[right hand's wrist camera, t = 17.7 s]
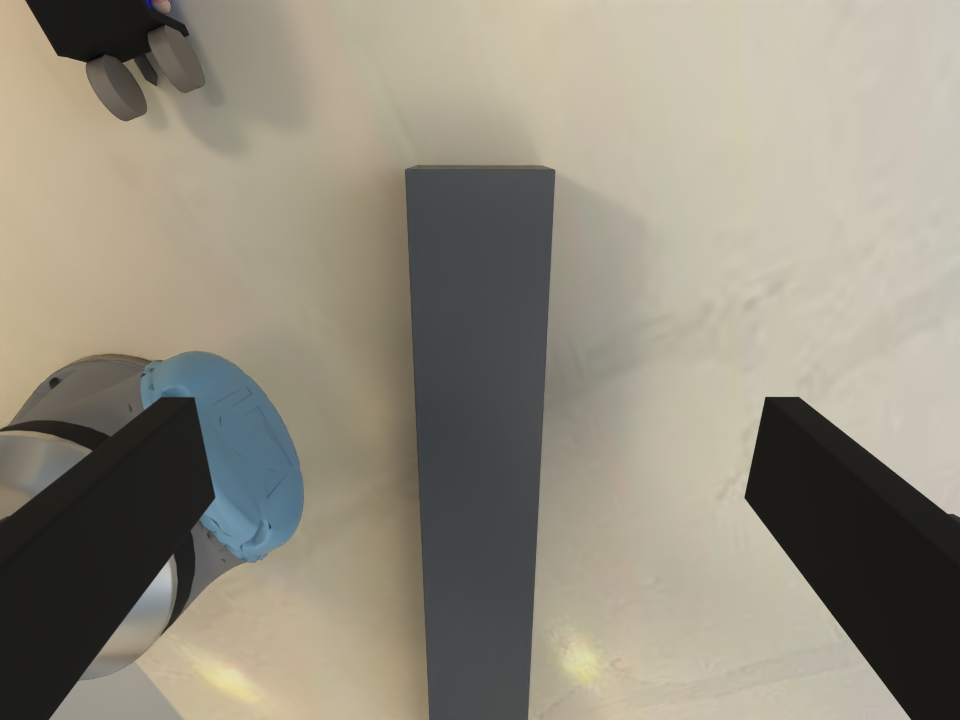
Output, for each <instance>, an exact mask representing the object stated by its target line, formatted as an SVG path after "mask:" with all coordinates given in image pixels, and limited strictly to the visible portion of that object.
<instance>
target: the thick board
mask: <svg viewBox="0 0 960 720" xmlns="http://www.w3.org/2000/svg"><path fill="white" fill-rule="evenodd" d="M405 179H406V202H407V224H408V247H409V269H410V292H411V314H412V337H413V359H414V382H415V404H416V427H417V449H418V472H419V494H420V517H421V539H422V562H423V584H424V606H425V629H426V651H427V674H428V696H429V719H430V720H528V705H529V685H530V665H531V645H532V625H533V605H534V585H535V565H536V545H537V525H538V505H539V485H540V465H541V445H542V425H543V405H544V385H545V365H546V345H547V325H548V305H549V285H550V265H551V245H552V225H553V205H554V185H555V170H554V169H551V168H548V167H545V166H444V165H418V166H414V167H411V168H408V169H405Z"/></svg>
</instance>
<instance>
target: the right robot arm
mask: <svg viewBox="0 0 960 720" xmlns="http://www.w3.org/2000/svg"><path fill="white" fill-rule="evenodd" d="M215 498H216V497H215V493H214V488H213V483H212V478H211V474H210V469H209V464H208V459H207V454H206V450H205V445H204V440H203V435H202V431H201V426H200V421H199V416H198V412H197V407H196V402H195V397H161V398H159V399H158V400H157V401H155V402H154V403H153V404H152V405H150V406H149V407H148V408H147V409H145V410H144V411H143V412H142V413H140V414H139V415H138V416H136V417H135V418H134V419H133V420H131V421H130V422H129V423H128V424H126V425H125V426H124V427H122V428H121V429H120V430H119V431H117V432H116V433H115V434H114V435H112V436H111V437H110V438H108V439H107V440H106V441H105V442H103V443H102V444H101V445H100V446H98V447H97V448H96V449H94V450H93V451H92V452H91V453H89V454H88V455H87V456H86V457H84V458H83V459H82V460H81V461H79V462H78V463H77V464H75V465H74V466H73V467H72V468H70V469H69V470H68V471H67V472H65V473H64V474H63V475H61V476H60V477H59V478H58V479H56V480H55V481H54V482H53V483H51V484H50V485H49V486H47V487H46V488H45V489H44V490H42V491H41V492H40V493H39V494H37V495H36V496H35V497H33V498H32V499H31V500H30V501H28V502H27V503H26V504H25V505H23V506H22V507H21V508H20V509H18V510H17V511H16V512H14V513H13V514H12V515H11V516H7V517H5V518H3V519H1V520H0V720H49V719H50V717H51V716H52V715H53V713H54V712H55V711H56V709H57V708H58V707H59V705H60V704H61V703H62V701H63V700H64V699H65V697H66V696H67V695H68V693H69V692H70V691H71V689H72V688H73V687H74V685H75V684H76V683H77V681H78V680H79V679H80V677H81V676H82V675H83V673H84V672H85V671H86V669H87V668H88V667H89V665H90V664H91V663H92V661H93V660H94V659H95V657H96V656H97V655H98V653H99V652H100V651H101V649H102V648H103V647H104V645H105V644H106V643H107V641H108V640H109V639H110V638H111V636H112V635H113V634H114V632H115V631H116V630H117V628H118V627H119V626H120V624H121V623H122V622H123V620H124V619H125V618H126V616H127V615H128V614H129V612H130V611H131V610H132V608H133V607H134V606H135V604H136V603H137V602H138V600H139V599H140V598H141V596H142V595H143V594H144V592H145V591H146V590H147V588H148V587H149V586H150V584H151V583H152V582H153V580H154V579H155V578H156V576H157V575H158V574H159V572H160V571H161V570H162V568H163V567H164V566H165V564H166V563H167V562H168V560H169V559H170V558H171V556H172V555H173V554H174V552H175V551H176V550H177V548H178V547H179V546H180V544H181V543H182V542H183V540H184V539H185V538H186V536H187V535H188V534H189V532H190V531H191V530H192V528H193V527H194V526H195V524H196V523H197V522H198V520H199V519H200V518H201V516H202V515H203V514H204V512H205V511H206V510H207V509H208V507H209V506H210V505H211V503H212V502H213V501H214V499H215ZM744 498H745V499H746V501H747V502H748V503H749V505H750V506H751V507H752V509H753V510H754V511H755V512H756V514H757V515H758V516H759V518H760V519H761V520H762V522H763V523H764V524H765V526H766V527H767V528H768V530H769V531H770V532H771V534H772V535H773V536H774V538H775V539H776V540H777V542H778V543H779V544H780V546H781V547H782V548H783V550H784V551H785V552H786V554H787V555H788V556H789V558H790V559H791V560H792V562H793V563H794V564H795V566H796V567H797V568H798V570H799V571H800V572H801V574H802V575H803V576H804V578H805V579H806V580H807V582H808V583H809V584H810V586H811V587H812V588H813V590H814V591H815V592H816V594H817V595H818V596H819V598H820V599H821V600H822V602H823V603H824V604H825V606H826V607H827V608H828V610H829V611H830V612H831V614H832V615H833V616H834V618H835V619H836V620H837V622H838V623H839V624H840V626H841V627H842V628H843V630H844V631H845V632H846V634H847V635H848V636H849V638H850V639H851V640H852V641H853V643H854V644H855V645H856V647H857V648H858V649H859V651H860V652H861V653H862V655H863V656H864V657H865V659H866V660H867V661H868V663H869V664H870V665H871V667H872V668H873V669H874V671H875V672H876V673H877V675H878V676H879V677H880V679H881V680H882V681H883V683H884V684H885V685H886V687H887V688H888V689H889V691H890V692H891V693H892V695H893V696H894V697H895V699H896V700H897V701H898V703H899V704H900V705H901V707H902V708H903V709H904V711H905V712H906V713H907V715H908V716H909V717H910V719H911V720H960V517H958V516H956V515H954V514H947V513H946V512H944V511H943V510H942V509H940V508H939V507H938V506H937V505H935V504H934V503H933V502H932V501H930V500H929V499H928V498H927V497H925V496H924V495H923V494H921V493H920V492H919V491H918V490H916V489H915V488H914V487H913V486H911V485H910V484H909V483H907V482H906V481H905V480H904V479H902V478H901V477H900V476H899V475H897V474H896V473H895V472H893V471H892V470H891V469H890V468H888V467H887V466H886V465H885V464H883V463H882V462H881V461H879V460H878V459H877V458H876V457H874V456H873V455H872V454H871V453H869V452H868V451H867V450H866V449H864V448H863V447H862V446H860V445H859V444H858V443H857V442H855V441H854V440H853V439H852V438H850V437H849V436H848V435H846V434H845V433H844V432H843V431H841V430H840V429H839V428H838V427H836V426H835V425H834V424H832V423H831V422H830V421H829V420H827V419H826V418H825V417H824V416H822V415H821V414H820V413H818V412H817V411H816V410H815V409H813V408H812V407H811V406H810V405H808V404H807V403H806V402H805V401H803V400H802V399H801V398H799V397H765V402H764V407H763V412H762V416H761V421H760V426H759V431H758V435H757V440H756V445H755V450H754V454H753V459H752V464H751V469H750V474H749V478H748V483H747V488H746V493H745V497H744Z"/></svg>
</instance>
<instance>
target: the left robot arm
mask: <svg viewBox="0 0 960 720" xmlns="http://www.w3.org/2000/svg"><path fill="white" fill-rule="evenodd" d="M161 397H195V402H196V407H197V412H198V416H199V421H200V426H201V431H202V435H203V440H204V445H205V450H206V454H207V459H208V464H209V469H210V474H211V478H212V483H213V488H214V493H215V497H216V498H215V499H214V501H213V502H212V503H211V505H210V506H209V507H208V509H207V510H206V511H205V512H204V514H203V515H202V516H201V518H200V519H199V520H198V522H197V523H196V524H195V526H194V527H193V528H192V530H191V531H190V532H189V534H188V535H187V536H186V538H185V539H184V540H183V542H182V543H181V544H180V546H179V547H178V548H177V550H176V551H175V552H174V554H173V555H172V556H171V558H170V559H169V560H168V562H167V563H166V564H165V566H164V567H163V568H162V570H161V571H160V572H159V574H158V575H157V576H156V578H155V579H154V580H153V582H152V583H151V584H150V586H149V587H148V588H147V590H146V591H145V592H144V594H143V595H142V596H141V598H140V599H139V600H138V602H137V603H136V604H135V606H134V607H133V608H132V610H131V611H130V612H129V614H128V615H127V616H126V618H125V619H124V620H123V622H122V623H121V624H120V626H119V627H118V628H117V630H116V631H115V632H114V634H113V635H112V636H111V638H110V639H109V640H108V641H107V643H106V644H105V645H104V647H103V648H102V649H101V651H100V652H99V653H98V655H97V656H96V657H95V659H94V660H93V661H92V663H91V664H90V665H89V667H88V668H87V669H86V671H85V672H84V673H83V675H82V676H81V677H80V679H79V680H78V681H80V680H89V679H95V678H99V677H103V676H107V675H110V674H112V673H115V672H117V671H119V670H121V669H123V668H124V667H126V666H128V665H129V664H131V663H133V662H134V661H135V660H136V659H138V658H139V657H140V656H141V655H142V654H144V653H145V652H146V651H147V650H148V649H149V648H150V647H151V646H152V645H153V644H154V643H155V642H156V641H157V640H158V639H159V637H160V636H161V635H162V634H163V633H164V632H165V631H166V630H167V629H168V628H169V627H170V626H171V625H172V624H173V623H174V622H175V621H176V619H177V618H178V617H179V616H180V615H181V614H182V613H183V612H184V611H185V609H186V608H187V607H188V606H189V605H190V604H191V603H192V602H193V601H194V600H195V598H196V597H197V596H198V595H199V594H200V593H201V592H202V591H203V590H204V589H205V588H206V587H207V586H208V585H209V584H210V583H211V582H212V581H214V580H215V579H216V578H217V577H219V576H220V575H222V574H223V573H225V572H226V571H228V570H230V569H231V568H233V567H235V566H238V565H240V564H242V563H245V562H256V561H257V560H262V559H263V558H264V557H266V556H267V554H268V552H270V551H272V550H274V549H276V548H278V547H280V546H281V545H283V544H284V543H286V542H287V541H288V540H289V539H290V538H291V536H292V535H293V534H294V532H295V531H296V529H297V527H298V524H299V522H300V519H301V515H302V510H303V502H304V488H303V479H302V475H301V471H300V464H299V460H298V456H297V453H296V450H295V447H294V445H293V442H292V439H291V437H290V435H289V432H288V430H287V428H286V426H285V424H284V422H283V420H282V419H281V417H280V415H279V413H278V412H277V410H276V409H275V407H274V405H273V404H272V402H271V401H270V400H269V398H268V397H267V395H266V394H265V393H264V392H263V390H262V389H261V388H260V387H259V386H258V385H257V383H256V382H255V381H254V380H253V379H252V378H251V377H249V376H247V375H246V374H245V373H244V372H243V371H242V370H241V369H240V368H239V367H238V366H236V365H235V364H233V363H232V362H230V361H228V360H226V359H224V358H222V357H220V356H218V355H215V354H212V353H208V352H202V351H192V352H185V353H181V354H179V355H176V356H174V357H171V358H169V359H167V360H164V361H162V360H155V361H152V362H149V361H146V360H143V359H140V358H136V357H132V356H126V355H116V354H103V355H95V356H90V357H86V358H83V359H80V360H78V361H75V362H73V363H71V364H69V365H67V366H66V367H64V368H62V369H60V370H58V371H57V372H55V373H53V374H52V375H51V376H50V377H48V378H47V379H46V380H45V381H44V382H43V383H41V384H40V385H39V386H38V387H37V389H36V390H35V391H34V392H33V394H32V395H31V396H30V398H29V399H28V400H27V402H26V403H25V404H24V406H23V407H22V408H21V410H20V411H19V412H18V414H17V415H16V416H15V417H14V419H13V420H12V421H11V423H10V424H9V425H8V426H7V427H4V428H2V429H0V520H1V519H3V518H5V517H7V516H11V515H12V514H13V513H14V512H16V511H17V510H18V509H20V508H21V507H22V506H23V505H25V504H26V503H27V502H28V501H30V500H31V499H32V498H33V497H35V496H36V495H37V494H39V493H40V492H41V491H42V490H44V489H45V488H46V487H47V486H49V485H50V484H51V483H53V482H54V481H55V480H56V479H58V478H59V477H60V476H61V475H63V474H64V473H65V472H67V471H68V470H69V469H70V468H72V467H73V466H74V465H75V464H77V463H78V462H79V461H81V460H82V459H83V458H84V457H86V456H87V455H88V454H89V453H91V452H92V451H93V450H94V449H96V448H97V447H98V446H100V445H101V444H102V443H103V442H105V441H106V440H107V439H108V438H110V437H111V436H112V435H114V434H115V433H116V432H117V431H119V430H120V429H121V428H122V427H124V426H125V425H126V424H128V423H129V422H130V421H131V420H133V419H134V418H135V417H136V416H138V415H139V414H140V413H142V412H143V411H144V410H145V409H147V408H148V407H149V406H150V405H152V404H153V403H154V402H155V401H157V400H158V399H159V398H161Z"/></svg>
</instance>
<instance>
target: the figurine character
mask: <svg viewBox="0 0 960 720" xmlns="http://www.w3.org/2000/svg"><path fill="white" fill-rule="evenodd" d="M25 1H26V2H27V4H28V6H29V7H30V9H31V11H32V12H33V14H34V16H35V18H36V19H37V21H38V23H39V24H40V26H41V28H42V30H43V31H44V33H45V35H46V36H47V38H48V40H49V41H50V43H51V45H52V47H53V48H54V50H55V52H56V53H57V55H58V56H62V57H68V58H71V59H75V60H79V61H83V62H86V63H87V64H86V73H87V76H88V79H89V82H90V84H91V86H92V88H93V90H94V91H95V93H96V95H97V96H98V98H99V99H100V100H101V102H102V103H103V104H104V105H105V107H106V108H107V109H108V110H109V111H110V112H111V113H112V114H113V115H115V116H116V117H117V118H119V119H121V120H123V121H129V120H132V119H134V118H136V117H139V116H141V115H144V114H145V113H146V112H147V104H146V100H145V97H144V95H143V93H142V90H141V88H140V87H139V85H138V83H137V81H136V80H135V78H134V77H133V75H132V74H131V73H130V71H129V70H128V69H127V68H126V67H125V65H124V64H123V62H126V61H128V60H130V59H134V61H135V62H136V64H137V66H138V68H139V69H140V71H141V73H142V74H143V76H144V78H145V79H146V80H147V81H149V82H150V83H152V84H154V85H155V86H157V74H156V73H155V71H154V69H153V68H152V66H151V64H150V62H149V61H148V59H147V57H146V55H145V53H147V52H150V51H152V53H153V55H154V57H155V59H156V61H157V63H158V64H159V66H160V68H161V69H162V71H163V72H164V74H165V75H166V77H167V78H168V79H169V80H170V82H171V83H172V84H173V85H174V86H175V87H176V88H177V89H178V90H180V91H181V92H183V93H187V92H189V91H192V90H194V89H197V88H199V87H202V86H204V84H205V79H204V74H203V71H202V68H201V66H200V63H199V61H198V59H197V57H196V55H195V53H194V51H193V50H192V48H191V46H190V45H189V43H188V42H187V40H186V39H185V38H184V37H186V36H188V35H189V33H188V31H187V28H186V26H185V25H184V24H182V23H180V22H178V21H176V20H174V19H172V18H170V17H168V16H166V15H164V14H167V13H169V12H170V9H171V5H170V3H169V1H168V0H25Z"/></svg>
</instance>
